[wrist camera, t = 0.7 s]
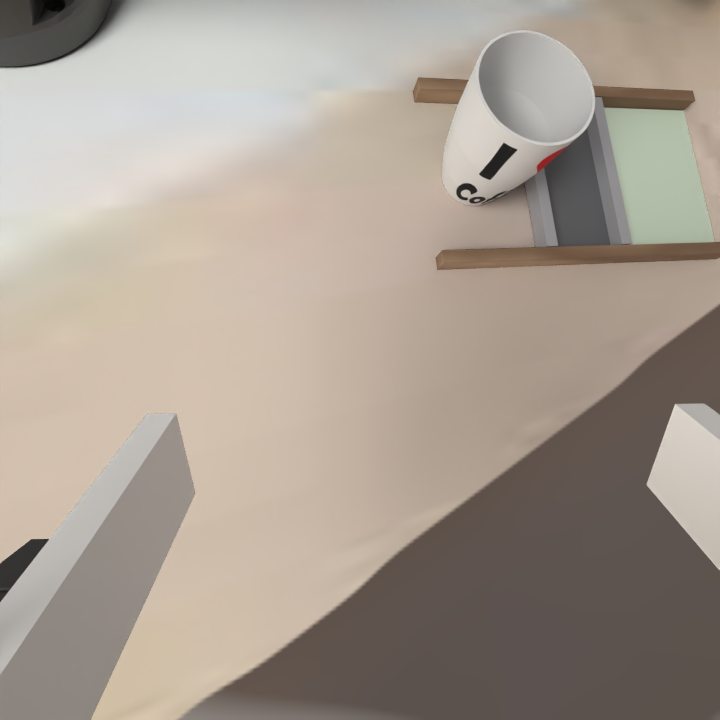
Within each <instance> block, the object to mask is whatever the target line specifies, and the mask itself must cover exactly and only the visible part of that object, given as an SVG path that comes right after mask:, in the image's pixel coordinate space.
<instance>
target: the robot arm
mask: <svg viewBox="0 0 720 720" xmlns="http://www.w3.org/2000/svg"><path fill="white" fill-rule="evenodd" d="M110 3H111V0H0V66H24V65H31V64H37V63H41V62H45V61H48V60H52V59H54V58H57V57H60V56H62V55H64V54H66V53H68V52H70V51H72V50H73V49H75V48H77V47H78V46H80V45H81V44H82V43H84V42H85V41H86V40H87V39H88V38H90V37H91V36H92V35H93V33H94V32H95V31H96V30H97V29H98V28H99V26H100V25H101V23H102V22H103V20H104V18H105V16H106V14H107V12H108V10H109V6H110ZM647 486H648V487H649V488H650V490H651V491H652V492H653V493H654V494H655V495H656V497H657V498H658V499H659V500H660V501H661V502H662V504H663V505H664V506H665V507H666V508H667V509H668V511H669V512H670V513H671V514H672V515H673V517H675V519H676V520H677V521H678V522H679V523H680V525H681V526H682V527H683V528H684V529H685V531H686V532H687V533H688V534H689V535H690V536H691V538H692V539H693V540H694V541H695V542H696V543H697V545H698V546H699V547H700V548H701V549H702V550H703V552H704V553H705V554H706V555H707V556H708V558H709V559H710V560H711V561H712V562H713V563H714V565H715V566H716V567H717V568H718V569H719V570H720V415H719V414H718V413H716V412H715V411H714V410H712V409H711V408H710V407H708V406H707V405H706V404H675V406H674V409H673V412H672V415H671V417H670V420H669V423H668V426H667V428H666V431H665V434H664V437H663V440H662V442H661V445H660V448H659V451H658V454H657V456H656V459H655V462H654V465H653V468H652V471H651V474H650V476H649V479H648V482H647ZM194 495H195V489H194V485H193V481H192V477H191V472H190V468H189V464H188V460H187V456H186V452H185V448H184V444H183V439H182V435H181V431H180V427H179V423H178V419H177V415H176V413H165V414H147V415H146V416H145V417H144V418H143V420H142V421H141V422H140V424H139V425H138V426H137V427H136V429H135V430H134V431H133V433H132V434H131V435H130V436H129V438H128V439H127V440H126V442H125V443H124V444H123V445H122V447H121V448H120V449H119V451H118V452H117V453H116V454H115V456H114V457H113V458H112V459H111V461H110V462H109V463H108V465H107V466H106V467H105V468H104V470H103V471H102V472H101V474H100V475H99V476H98V477H97V479H96V480H95V481H94V483H93V484H92V485H91V486H90V488H89V489H88V490H87V492H86V493H85V494H84V495H83V497H82V498H81V499H80V501H79V502H78V503H77V504H76V506H75V507H74V508H73V510H72V511H71V512H70V513H69V515H68V516H67V517H66V519H65V520H64V521H63V522H62V524H61V525H60V526H59V528H58V529H57V530H56V531H55V533H54V534H53V535H52V537H51V538H50V539H31V540H30V541H29V542H27V543H26V544H25V545H24V546H22V547H21V548H20V549H18V550H17V551H16V552H14V553H13V554H12V555H10V556H9V557H8V558H7V559H5V560H4V561H3V562H2V563H1V564H0V720H91V718H92V716H93V713H94V711H95V709H96V707H97V705H98V703H99V701H100V698H101V696H102V694H103V692H104V690H105V688H106V685H107V683H108V681H109V679H110V677H111V675H112V672H113V670H114V668H115V666H116V664H117V662H118V659H119V657H120V655H121V653H122V651H123V649H124V646H125V644H126V642H127V640H128V638H129V636H130V633H131V631H132V629H133V627H134V625H135V623H136V621H137V618H138V616H139V614H140V612H141V610H142V608H143V605H144V603H145V601H146V599H147V597H148V595H149V592H150V590H151V588H152V586H153V584H154V582H155V579H156V577H157V575H158V573H159V571H160V569H161V566H162V564H163V562H164V560H165V558H166V556H167V554H168V551H169V549H170V547H171V545H172V543H173V541H174V538H175V536H176V534H177V532H178V530H179V528H180V525H181V523H182V521H183V519H184V517H185V515H186V512H187V510H188V508H189V506H190V504H191V502H192V499H193V497H194Z"/></svg>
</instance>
